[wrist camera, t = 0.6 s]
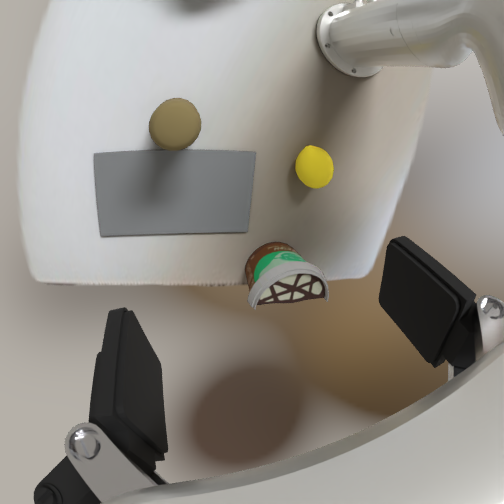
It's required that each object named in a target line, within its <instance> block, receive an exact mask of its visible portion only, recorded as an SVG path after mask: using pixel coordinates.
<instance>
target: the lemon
mask: <svg viewBox="0 0 504 504" xmlns="http://www.w3.org/2000/svg"><path fill="white" fill-rule="evenodd" d="M295 170H296V172H297V175H298V177H299V179H300V180H301V181H302V182H303V183H304V184H305V185H306V186H309V187H311V188H321V187H324V186H325V185H327V184H328V183H329V181H330V180H331V179H332V177H333V171H334V167H333V162H332V159H331V158H330V156H329V154H328V153H327V152H326V151H325V150H323V149H322V148H319V147H315V146H311V145H307V146H306V147H305V148H304V149H303V150H302V151H301V152H300V153H299V155H298V157H297V159H296V166H295Z"/></svg>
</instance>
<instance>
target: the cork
mask: <svg viewBox="0 0 504 504" xmlns="http://www.w3.org/2000/svg"><path fill="white" fill-rule="evenodd" d="M200 130H201V119H200V115H199V113H198V112H197V109H196V108H195V106H194V105H193V104H192V103H191V102H189V101H188V100H185V99H182V98H172V99H169V100H166V101H165V102H163V103H162V104H160V106H159V107H158V108H157V109H156V110H155V111H154V113H153V114H152V116H151V119H150V121H149V132H150V135H151V138H152V139H153V141H154V142H155V144H157V145H158V146H159V147H161V148H162V149H166V150H169V151H179V150H182V149H185V148H187V147H188V146H190V145H191V144H193V142H194V141H195V140H196V139H197V137H198V135H199V133H200Z"/></svg>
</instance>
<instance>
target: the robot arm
mask: <svg viewBox="0 0 504 504" xmlns="http://www.w3.org/2000/svg"><path fill="white" fill-rule="evenodd" d="M317 39H318V43H319V46H320V48H321V50H322V52H323V54H324V56H325V57H326V58H327V60H328V61H329V62H330V63H331V64H332V65H333V66H334V67H335V68H337V69H338V70H339V71H341V72H343V73H345V74H347V75H350V76H354V77H368V76H372V75H374V74H376V73H378V72H379V71H380V70H381V69H382V68H383V67H385V66H412V67H435V68H450V67H454V66H457V65H459V64H460V63H462V62H463V61H464V60H465V59H466V58H467V57H468V56H469V55H470V54H471V52H472V51H474V53H475V55H476V57H477V60H478V62H479V65H480V67H481V69H482V72H483V75H484V78H485V81H486V85H487V88H488V92H489V95H490V99H491V103H492V106H493V111H494V114H495V118H496V121H497V124H498V127H499V129H500V131H501V132H502V134H503V136H504V0H367V4H364V3H363V0H355V1H354V2H353V3H340V4H336V5H333V6H331V7H329V8H328V9H326V10H325V11H324V12H323V13H322V15H321V16H320V18H319V20H318V23H317ZM325 46H326V47H325ZM475 297H476V294H475V293H474V292H473V291H472V290H470V289H469V288H468V287H467V286H466V285H465V284H464V283H463V282H461V281H460V280H459V279H458V278H457V277H456V276H455V275H453V274H452V273H451V272H450V271H449V270H447V269H446V268H445V267H444V266H443V265H441V264H440V263H439V262H438V261H437V260H435V259H434V258H433V257H431V256H430V255H429V254H428V253H427V252H425V251H424V250H423V249H422V248H420V247H419V246H417V245H416V244H415V243H414V242H412V241H411V240H410V239H409V238H407V237H405V236H401V237H398V238H394V239H392V240H391V241H390V243H389V244H388V246H387V250H386V257H385V264H384V270H383V276H382V282H381V288H380V293H379V303H380V305H381V307H382V308H383V309H384V310H385V311H386V313H387V314H388V315H389V316H390V317H391V318H392V320H393V321H394V322H395V323H396V324H397V325H398V327H399V328H400V329H401V330H402V332H403V333H404V334H405V335H406V337H407V338H408V339H409V340H410V341H411V343H412V344H413V345H414V346H415V348H416V349H417V350H418V351H419V353H420V354H421V355H422V356H423V358H424V359H425V360H426V361H427V362H428V363H431V364H432V365H433V367H434V368H436V367H437V366H439V365H440V364H442V363H444V361H445V360H447V361H448V362H449V369H448V382H447V383H445V384H444V385H443V386H441V387H439V388H438V389H436V390H435V391H433V392H432V393H430V394H428V395H427V396H425V397H424V398H422V399H420V400H419V401H417V402H415V403H414V404H412V405H410V406H408V407H407V408H405V409H403V410H401V411H400V412H398V413H396V414H394V415H392V416H390V417H388V418H386V419H384V420H382V421H380V422H378V423H377V424H374V425H373V426H370V427H368V428H366V429H364V430H362V431H359V432H357V433H355V434H353V435H351V436H348V437H346V438H343V439H341V440H339V441H336V442H334V443H331V444H328V445H326V446H324V447H321V448H318V449H315V450H312V451H310V452H307V453H304V454H301V455H298V456H295V457H292V458H289V459H285V460H282V461H279V462H276V463H272V464H268V465H264V466H261V467H257V468H253V469H248V470H244V471H240V472H235V473H231V474H226V475H221V476H216V477H210V478H205V479H198V480H193V481H185V482H179V483H172V484H169V483H168V482H167V481H166V480H165V479H163V478H162V477H161V476H160V475H159V474H158V473H157V472H156V471H155V469H156V465H155V461H163V460H165V458H164V453H166V452H168V443H167V434H166V424H165V412H164V400H163V384H162V368H161V363H160V361H159V359H158V357H157V355H156V354H155V352H154V350H153V348H152V347H151V345H150V343H149V341H148V339H147V337H146V336H145V334H144V332H143V330H142V328H141V326H140V324H139V322H138V320H137V318H136V316H135V314H134V312H133V311H128V310H127V309H126V308H119V309H115V310H111V311H109V313H108V319H107V323H106V329H105V334H104V339H103V345H102V351H101V352H99V353H98V354H97V358H96V364H95V370H94V377H93V385H92V393H91V402H90V412H89V423H81V424H78V425H76V426H75V427H73V428H72V429H71V430H70V432H68V435H67V437H66V439H65V452H66V454H67V456H66V457H65V458H64V459H63V460H62V461H61V462H60V463H59V464H58V465H57V466H56V467H55V468H54V469H53V470H52V471H51V472H50V473H49V474H48V475H47V476H46V477H45V478H44V479H43V480H42V481H41V482H40V483H39V484H38V485H37V487H36V488H35V491H34V502H35V504H504V303H503V302H502V301H501V300H499V299H498V298H496V297H494V296H490V295H484V296H482V297H480V298H479V299H478V301H477V303H475V302H474V299H475Z"/></svg>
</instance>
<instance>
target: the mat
mask: <svg viewBox="0 0 504 504" xmlns="http://www.w3.org/2000/svg"><path fill="white" fill-rule="evenodd" d="M255 159H256V152H249V151H228V150H179V151H169V150H141V151H121V152H106V153H95V154H94V170H95V186H96V198H97V209H98V218H99V226H100V234H101V236H111V235H138V234H170V233H211V232H248V224H249V215H250V205H251V196H252V186H253V177H254V168H255Z"/></svg>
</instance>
